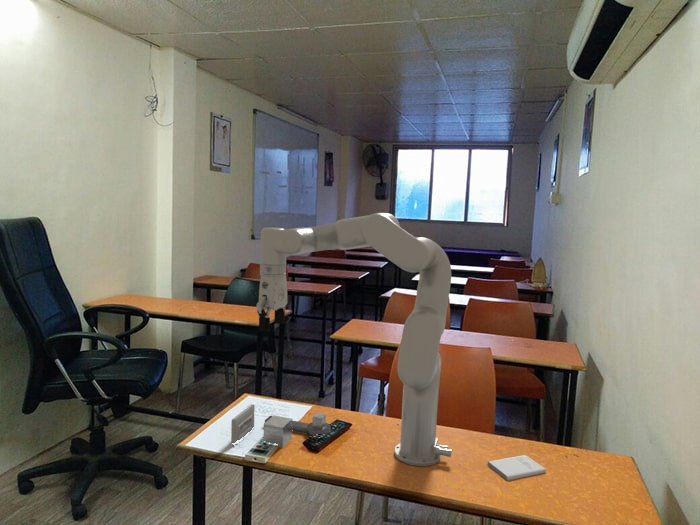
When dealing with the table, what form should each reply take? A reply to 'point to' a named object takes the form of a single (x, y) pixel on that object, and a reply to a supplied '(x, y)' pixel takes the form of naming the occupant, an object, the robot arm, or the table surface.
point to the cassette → (242, 424)
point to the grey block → (278, 430)
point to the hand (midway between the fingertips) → (272, 327)
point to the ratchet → (311, 425)
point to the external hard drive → (516, 467)
